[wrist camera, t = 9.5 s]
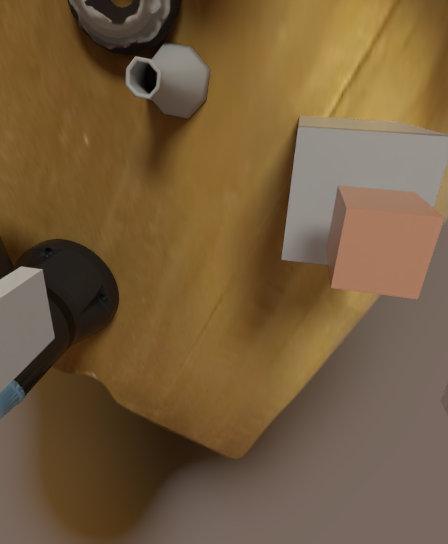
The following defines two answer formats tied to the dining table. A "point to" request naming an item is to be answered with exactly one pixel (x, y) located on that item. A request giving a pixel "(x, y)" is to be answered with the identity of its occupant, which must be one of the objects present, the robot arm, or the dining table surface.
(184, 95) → the flask
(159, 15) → the donut
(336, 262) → the pump plunger
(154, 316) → the dining table surface
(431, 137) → the slotted white box
